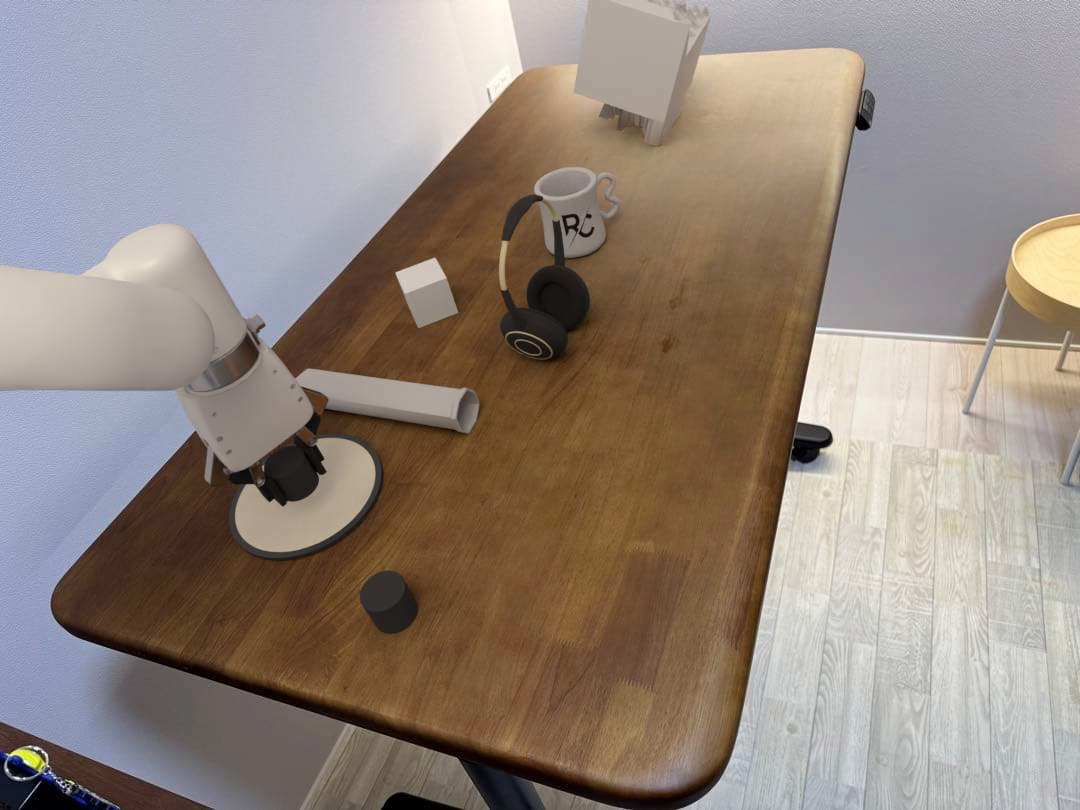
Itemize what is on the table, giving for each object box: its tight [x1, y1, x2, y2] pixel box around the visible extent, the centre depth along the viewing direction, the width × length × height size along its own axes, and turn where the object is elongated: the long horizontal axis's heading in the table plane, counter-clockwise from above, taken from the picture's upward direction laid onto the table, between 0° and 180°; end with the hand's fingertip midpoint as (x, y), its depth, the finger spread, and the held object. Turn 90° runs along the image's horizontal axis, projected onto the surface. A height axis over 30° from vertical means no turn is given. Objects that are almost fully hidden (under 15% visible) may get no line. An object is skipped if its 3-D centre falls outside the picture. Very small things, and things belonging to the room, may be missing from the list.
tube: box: [294, 368, 481, 435], centre depth 95 cm, size 5×5×25 cm
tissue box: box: [573, 0, 712, 147], centre depth 129 cm, size 20×16×25 cm
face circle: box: [228, 433, 384, 562], centre depth 89 cm, size 18×18×1 cm
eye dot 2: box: [359, 570, 419, 635], centre depth 74 cm, size 4×4×4 cm
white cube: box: [395, 257, 459, 329], centre depth 109 cm, size 6×6×6 cm
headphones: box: [498, 193, 591, 360], centre depth 93 cm, size 9×15×20 cm, turn 154°
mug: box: [533, 166, 621, 259], centre depth 112 cm, size 12×9×10 cm
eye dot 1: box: [264, 445, 319, 502], centre depth 82 cm, size 4×4×4 cm
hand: (297, 482), depth 83 cm, fingers closed on eye dot 1, 4 cm apart
